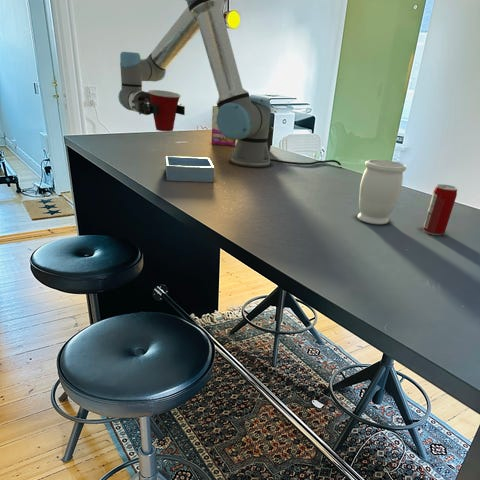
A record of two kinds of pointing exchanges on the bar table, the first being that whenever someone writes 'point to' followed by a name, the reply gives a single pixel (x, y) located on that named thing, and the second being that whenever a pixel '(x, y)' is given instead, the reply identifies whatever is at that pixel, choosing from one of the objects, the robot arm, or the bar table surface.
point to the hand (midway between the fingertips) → (171, 110)
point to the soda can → (440, 209)
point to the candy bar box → (216, 134)
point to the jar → (379, 190)
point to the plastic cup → (164, 108)
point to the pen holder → (269, 138)
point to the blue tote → (189, 169)
